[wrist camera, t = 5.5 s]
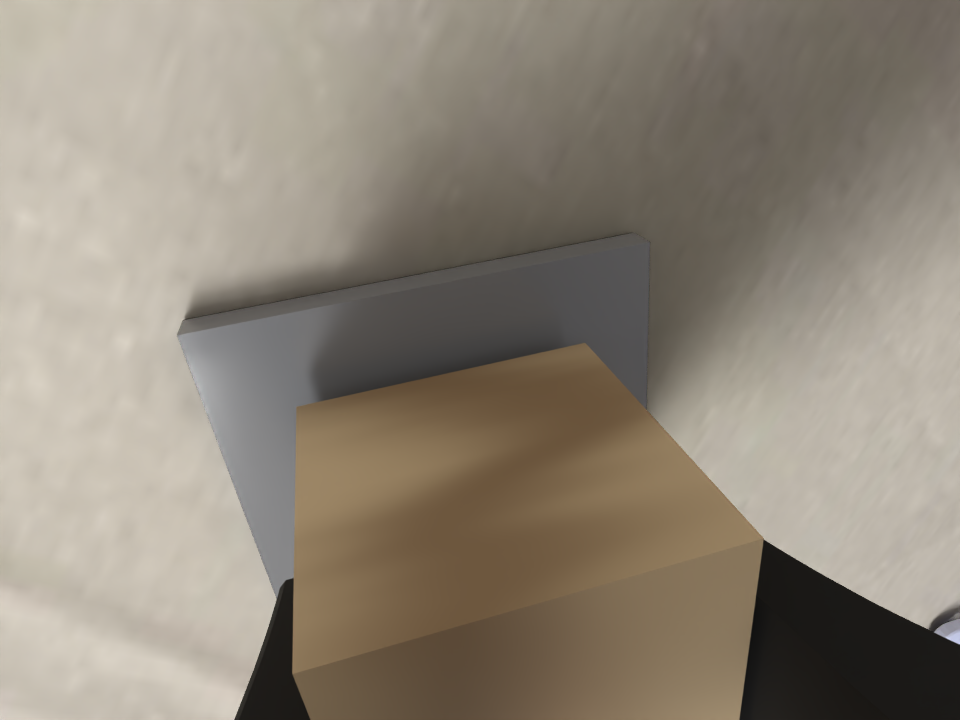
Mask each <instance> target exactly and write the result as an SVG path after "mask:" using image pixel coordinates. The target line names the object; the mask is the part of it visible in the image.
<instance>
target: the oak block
mask: <svg viewBox="0 0 960 720" xmlns="http://www.w3.org/2000/svg"><path fill="white" fill-rule="evenodd" d="M763 540H764V538H763V537H762V536H761V535H760V534H759V533H758V532H757V530H756V529H755V528H754V527H753V526H752V525H751V524H750V523H749V522H748V521H747V519H746V518H745V517H744V516H743V515H742V514H741V513H740V512H739V511H738V510H737V508H736V507H735V506H734V505H733V504H732V503H731V502H730V501H729V500H728V499H727V498H726V496H725V495H724V494H723V493H722V492H721V491H720V490H719V489H718V488H717V487H716V485H715V484H714V483H713V482H712V481H711V480H710V479H709V478H708V477H707V476H706V475H705V473H704V472H703V471H702V470H701V469H700V468H699V467H698V466H697V465H696V464H695V462H694V461H693V460H692V459H691V458H690V457H689V456H688V455H687V454H686V453H685V452H684V450H683V449H682V448H681V447H680V446H679V445H678V444H677V443H676V442H675V441H674V439H673V438H672V437H671V436H670V435H669V434H668V433H667V432H666V431H665V430H664V428H663V427H662V426H661V425H660V424H659V423H658V422H657V421H656V420H655V419H654V418H653V416H652V415H651V414H650V413H649V412H648V411H647V410H646V409H645V408H644V407H643V405H642V404H641V403H640V402H639V401H638V400H637V399H636V398H635V397H634V396H633V395H632V393H631V392H630V391H629V390H628V389H627V388H626V387H625V386H624V385H623V384H622V382H621V381H620V380H619V379H618V378H617V377H616V376H615V375H614V374H613V373H612V371H611V370H610V369H609V368H608V367H607V366H606V365H605V364H604V363H603V362H602V361H601V359H600V358H599V357H598V356H597V355H596V354H595V353H594V352H593V351H592V350H591V348H590V347H589V346H588V345H587V344H586V343H582V344H577V345H573V346H568V347H564V348H559V349H555V350H550V351H546V352H541V353H537V354H532V355H528V356H523V357H519V358H514V359H510V360H505V361H501V362H496V363H492V364H487V365H483V366H478V367H474V368H469V369H465V370H460V371H456V372H451V373H447V374H442V375H438V376H433V377H429V378H424V379H420V380H415V381H411V382H406V383H402V384H397V385H393V386H388V387H383V388H379V389H374V390H370V391H365V392H361V393H356V394H352V395H347V396H343V397H338V398H334V399H329V400H325V401H320V402H316V403H311V404H307V405H302V406H298V407H296V465H295V531H294V597H293V663H292V674H293V677H294V679H295V682H296V684H297V687H298V689H299V692H300V694H301V697H302V700H303V702H304V705H305V707H306V710H307V712H308V715H309V717H310V720H739V718H740V711H741V703H742V696H743V689H744V681H745V674H746V666H747V659H748V652H749V644H750V637H751V629H752V622H753V614H754V607H755V600H756V592H757V585H758V577H759V570H760V563H761V555H762V548H763Z"/></svg>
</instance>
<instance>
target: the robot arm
mask: <svg viewBox="0 0 960 720" xmlns="http://www.w3.org/2000/svg"><path fill="white" fill-rule="evenodd" d="M293 597H294V578H292V579H288V580H285V582H284V583H283V584H282V586H281V587H280V589H279V593H278V597H277V600H276V604H275V607H274V611H273V614H272V617H271V621H270V624H269V627H268V630H267V633H266V636H265V639H264V642H263V645H262V648H261V651H260V654H259V656H258V659H257V662H256V665H255V668H254V671H253V673H252V676H251V678H250V681H249V684H248V686H247V689H246V691H245V694H244V696H243V699H242V702H241V704H240V707H239V709H238V712H237V714H236V717H235V720H310V717H309V715H308V712H307V710H306V707H305V705H304V702H303V700H302V697H301V694H300V692H299V689H298V687H297V684H296V682H295V679H294V677H293V674H292V663H293ZM739 720H960V618H959V619H956V620H953V621H950V622H947V623H945V624H943V625H941V626H940V627H938V628H937V629H936V630H935V631H934V632H932V631H930V630H928V629H926V628H924V627H922V626H920V625H917V624H915V623H913V622H911V621H909V620H907V619H905V618H903V617H901V616H899V615H897V614H895V613H893V612H891V611H889V610H887V609H885V608H883V607H881V606H879V605H877V604H875V603H873V602H871V601H869V600H867V599H866V598H864V597H862V596H860V595H858V594H856V593H855V592H853V591H851V590H849V589H847V588H846V587H844V586H842V585H840V584H838V583H836V582H835V581H833V580H831V579H829V578H827V577H826V576H824V575H822V574H820V573H819V572H817V571H815V570H813V569H812V568H810V567H808V566H807V565H805V564H803V563H801V562H800V561H798V560H796V559H795V558H793V557H791V556H790V555H788V554H786V553H785V552H783V551H781V550H780V549H778V548H776V547H775V546H773V545H772V544H770V543H768V542H767V541H765V540H763V548H762V555H761V563H760V570H759V577H758V585H757V592H756V600H755V607H754V614H753V622H752V629H751V637H750V644H749V652H748V659H747V666H746V674H745V681H744V689H743V696H742V703H741V711H740V718H739Z"/></svg>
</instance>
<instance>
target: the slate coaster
mask: <svg viewBox="0 0 960 720" xmlns="http://www.w3.org/2000/svg"><path fill="white" fill-rule="evenodd" d="M649 266H650V242H649V241H648V240H646V239H644V238H643V237H641V236H639V235H638V234H636V233H630V234H625V235H620V236H614V237H609V238H604V239H599V240H594V241H589V242H584V243H578V244H573V245H568V246H563V247H558V248H553V249H547V250H542V251H537V252H532V253H527V254H522V255H517V256H511V257H506V258H501V259H496V260H491V261H486V262H480V263H475V264H470V265H465V266H460V267H455V268H450V269H444V270H439V271H434V272H429V273H424V274H419V275H413V276H408V277H403V278H398V279H393V280H388V281H383V282H377V283H372V284H367V285H362V286H357V287H352V288H346V289H341V290H336V291H331V292H326V293H321V294H316V295H310V296H305V297H300V298H295V299H290V300H285V301H279V302H274V303H269V304H264V305H259V306H254V307H249V308H243V309H238V310H233V311H228V312H223V313H218V314H212V315H207V316H202V317H197V318H192V319H187V320H183V321H182V324H181V326H180V329H179V331H178V334H177V337H178V339H179V342H180V345H181V347H182V350H183V353H184V355H185V358H186V361H187V363H188V366H189V368H190V371H191V374H192V376H193V379H194V382H195V384H196V387H197V390H198V392H199V395H200V398H201V400H202V403H203V405H204V408H205V411H206V413H207V416H208V419H209V421H210V424H211V427H212V429H213V432H214V434H215V437H216V440H217V442H218V445H219V448H220V450H221V453H222V456H223V458H224V461H225V464H226V466H227V469H228V471H229V474H230V477H231V479H232V482H233V485H234V487H235V490H236V493H237V495H238V498H239V500H240V503H241V506H242V508H243V511H244V514H245V516H246V519H247V522H248V524H249V527H250V529H251V532H252V535H253V537H254V540H255V543H256V545H257V548H258V551H259V553H260V556H261V559H262V561H263V564H264V566H265V569H266V572H267V574H268V577H269V580H270V582H271V585H272V588H273V590H274V593H275V595H276V598H277V597H278V593H279V589H280V587H281V586H282V584H283V583H284V582H285V580H288V579H292V578H294V531H295V465H296V407H298V406H302V405H307V404H311V403H316V402H320V401H325V400H329V399H334V398H338V397H343V396H347V395H352V394H356V393H361V392H365V391H370V390H374V389H379V388H383V387H388V386H393V385H397V384H402V383H406V382H411V381H415V380H420V379H424V378H429V377H433V376H438V375H442V374H447V373H451V372H456V371H460V370H465V369H469V368H474V367H478V366H483V365H487V364H492V363H496V362H501V361H505V360H510V359H514V358H519V357H523V356H528V355H532V354H537V353H541V352H546V351H550V350H555V349H559V348H564V347H568V346H573V345H577V344H582V343H586V344H587V345H588V346H589V347H590V348H591V350H592V351H593V352H594V353H595V354H596V355H597V356H598V357H599V358H600V359H601V361H602V362H603V363H604V364H605V365H606V366H607V367H608V368H609V369H610V370H611V371H612V373H613V374H614V375H615V376H616V377H617V378H618V379H619V380H620V381H621V382H622V384H623V385H624V386H625V387H626V388H627V389H628V390H629V391H630V392H631V393H632V395H633V396H634V397H635V398H636V399H637V400H638V401H639V402H640V403H641V404H642V405H643V407H644V408H645V409H646V410H647V363H648V314H649Z"/></svg>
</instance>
